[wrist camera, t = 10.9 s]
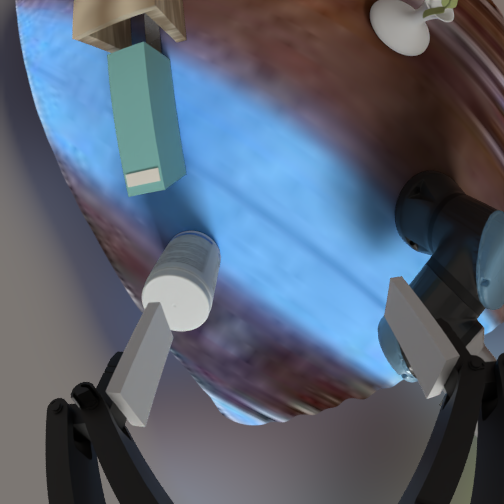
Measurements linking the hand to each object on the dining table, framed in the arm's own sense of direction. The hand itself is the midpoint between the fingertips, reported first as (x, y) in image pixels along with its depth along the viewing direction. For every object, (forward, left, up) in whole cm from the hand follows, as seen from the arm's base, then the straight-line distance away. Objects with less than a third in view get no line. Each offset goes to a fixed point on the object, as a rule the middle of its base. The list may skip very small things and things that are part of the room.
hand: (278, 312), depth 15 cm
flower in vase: (-25, -27, -31) cm, 48 cm away
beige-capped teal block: (+14, -14, -30) cm, 36 cm away
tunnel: (+14, -30, -31) cm, 45 cm away
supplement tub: (+13, +10, -31) cm, 35 cm away
